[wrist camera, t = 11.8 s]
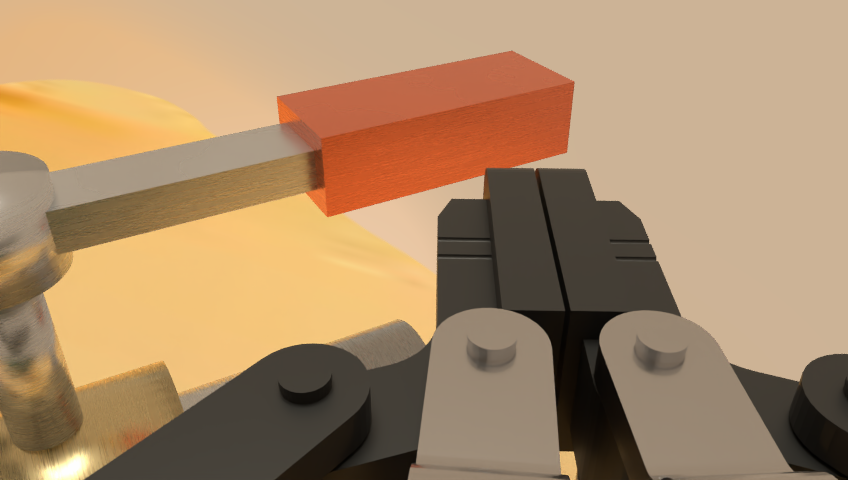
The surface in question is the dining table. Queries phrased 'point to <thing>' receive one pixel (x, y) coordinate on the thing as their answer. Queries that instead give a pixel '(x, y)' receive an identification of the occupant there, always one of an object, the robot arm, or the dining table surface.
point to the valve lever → (289, 161)
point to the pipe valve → (109, 397)
